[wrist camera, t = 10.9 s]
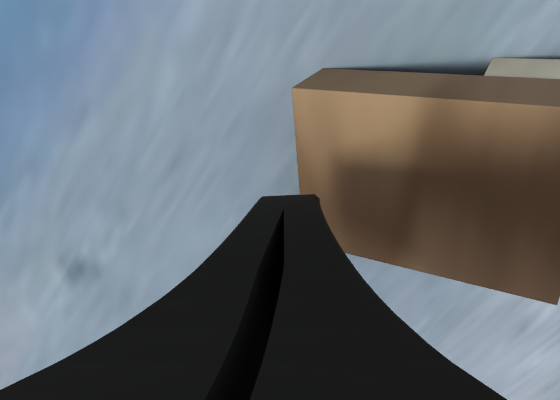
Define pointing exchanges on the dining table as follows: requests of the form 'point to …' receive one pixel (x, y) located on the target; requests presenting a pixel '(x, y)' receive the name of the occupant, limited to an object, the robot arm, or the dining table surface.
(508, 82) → the domino
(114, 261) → the dining table surface
